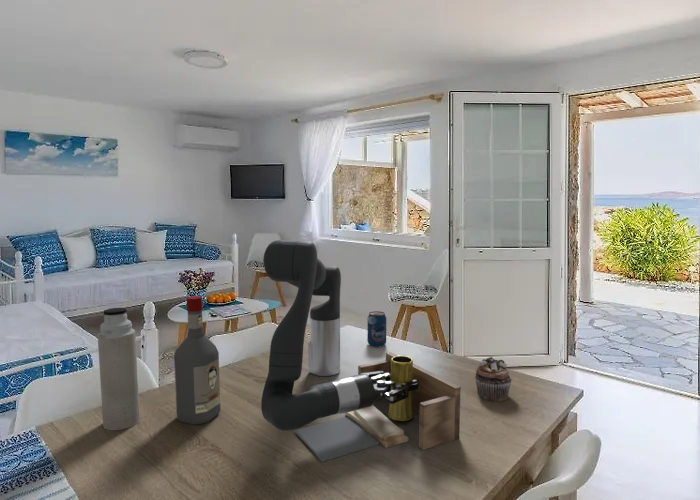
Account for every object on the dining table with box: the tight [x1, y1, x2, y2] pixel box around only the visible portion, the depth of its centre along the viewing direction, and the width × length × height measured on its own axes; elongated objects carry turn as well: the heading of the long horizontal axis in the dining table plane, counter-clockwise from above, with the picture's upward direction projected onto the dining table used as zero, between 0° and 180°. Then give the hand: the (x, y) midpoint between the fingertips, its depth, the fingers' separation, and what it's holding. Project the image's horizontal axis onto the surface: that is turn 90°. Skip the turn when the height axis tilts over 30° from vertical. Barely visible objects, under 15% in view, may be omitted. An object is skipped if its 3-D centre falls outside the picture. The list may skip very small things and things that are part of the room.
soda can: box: [366, 310, 387, 348], centre depth 173 cm, size 7×7×12 cm
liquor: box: [173, 295, 221, 426], centre depth 116 cm, size 9×9×30 cm
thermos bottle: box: [97, 307, 141, 431], centre depth 112 cm, size 8×8×28 cm
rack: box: [344, 351, 462, 451], centre depth 113 cm, size 17×28×12 cm, turn 30°
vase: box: [387, 355, 414, 422], centre depth 114 cm, size 6×6×14 cm
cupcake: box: [474, 356, 513, 402], centre depth 129 cm, size 10×10×10 cm
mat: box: [294, 416, 380, 463], centre depth 106 cm, size 14×14×1 cm
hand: (409, 380), depth 115 cm, fingers closed on vase, 5 cm apart
